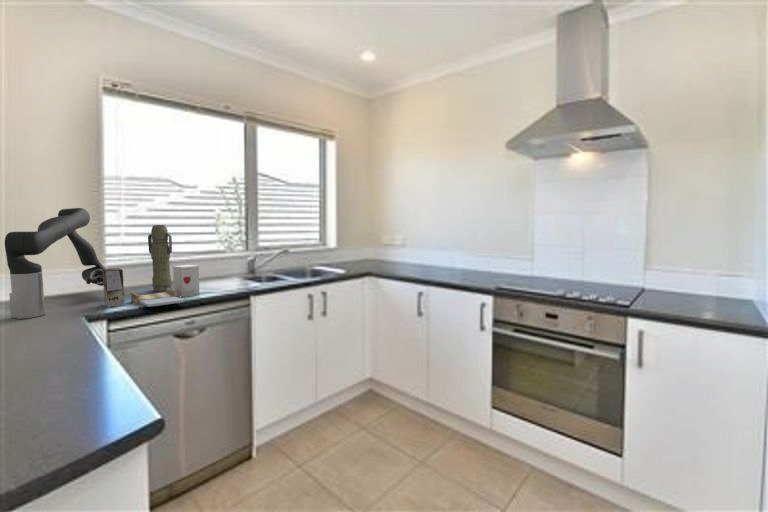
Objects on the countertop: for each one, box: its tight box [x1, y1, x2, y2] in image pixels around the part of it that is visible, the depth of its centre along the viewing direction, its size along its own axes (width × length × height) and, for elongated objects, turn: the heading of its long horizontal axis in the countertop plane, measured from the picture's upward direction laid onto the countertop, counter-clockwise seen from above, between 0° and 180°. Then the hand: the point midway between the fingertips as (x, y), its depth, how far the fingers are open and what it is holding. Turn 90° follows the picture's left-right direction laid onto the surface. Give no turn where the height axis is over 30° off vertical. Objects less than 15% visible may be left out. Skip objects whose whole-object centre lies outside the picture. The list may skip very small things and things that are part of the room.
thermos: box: [147, 224, 173, 292], centre depth 209 cm, size 9×12×35 cm
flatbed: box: [130, 288, 178, 306], centre depth 182 cm, size 16×12×4 cm
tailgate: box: [140, 296, 186, 308], centre depth 172 cm, size 14×1×16 cm
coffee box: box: [102, 267, 125, 308], centre depth 174 cm, size 9×6×16 cm
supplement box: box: [172, 264, 200, 298], centre depth 197 cm, size 9×9×15 cm
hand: (107, 280), depth 181 cm, fingers open, 8 cm apart
